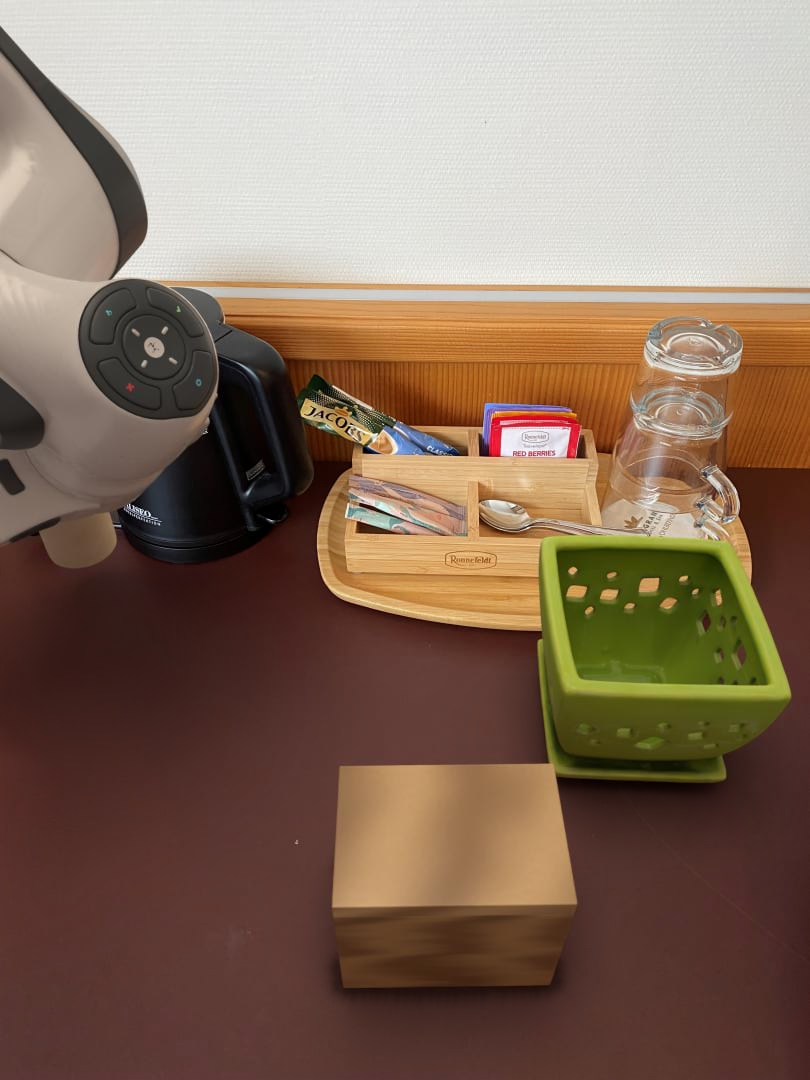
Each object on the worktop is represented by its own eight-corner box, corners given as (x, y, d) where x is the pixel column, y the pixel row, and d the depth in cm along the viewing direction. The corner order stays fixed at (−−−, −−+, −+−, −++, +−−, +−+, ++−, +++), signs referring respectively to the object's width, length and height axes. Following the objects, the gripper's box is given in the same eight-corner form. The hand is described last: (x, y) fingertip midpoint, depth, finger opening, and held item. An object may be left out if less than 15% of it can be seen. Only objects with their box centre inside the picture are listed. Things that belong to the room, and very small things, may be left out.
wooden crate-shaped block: (343, 988, 46) (331, 907, 39) (348, 857, 52) (339, 765, 44) (550, 985, 46) (578, 904, 39) (532, 855, 52) (554, 763, 44)
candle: (34, 551, 66) (-7, 454, 59) (88, 516, 69) (55, 420, 63) (77, 579, 64) (40, 480, 57) (131, 541, 67) (102, 444, 60)
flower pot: (534, 804, 55) (558, 691, 46) (519, 646, 65) (536, 530, 56) (740, 809, 54) (803, 697, 46) (692, 650, 64) (736, 534, 56)
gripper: (200, 344, 57) (152, 407, 68) (-95, 467, 46) (-93, 517, 57) (247, 421, 58) (191, 471, 69) (-33, 560, 47) (-43, 592, 58)
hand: (60, 493), depth 63 cm, fingers closed on candle, 5 cm apart
